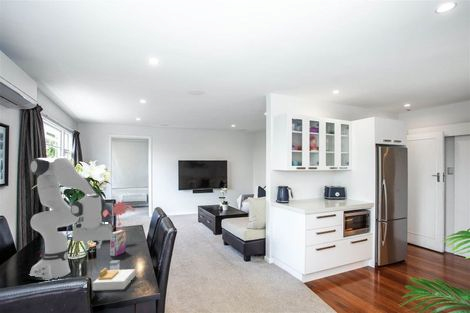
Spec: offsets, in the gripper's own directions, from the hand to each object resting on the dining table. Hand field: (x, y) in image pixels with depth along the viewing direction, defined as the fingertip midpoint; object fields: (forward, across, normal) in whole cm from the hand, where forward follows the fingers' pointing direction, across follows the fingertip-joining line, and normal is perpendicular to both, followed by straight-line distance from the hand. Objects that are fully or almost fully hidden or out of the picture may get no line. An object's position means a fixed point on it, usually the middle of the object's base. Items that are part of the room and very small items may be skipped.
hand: (92, 248), depth 142 cm
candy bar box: (+19, +8, -50) cm, 54 cm away
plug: (+19, -5, -15) cm, 25 cm away
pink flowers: (+19, +20, -83) cm, 88 cm away
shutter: (+15, -8, 0) cm, 17 cm away
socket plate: (+19, -12, 0) cm, 23 cm away
